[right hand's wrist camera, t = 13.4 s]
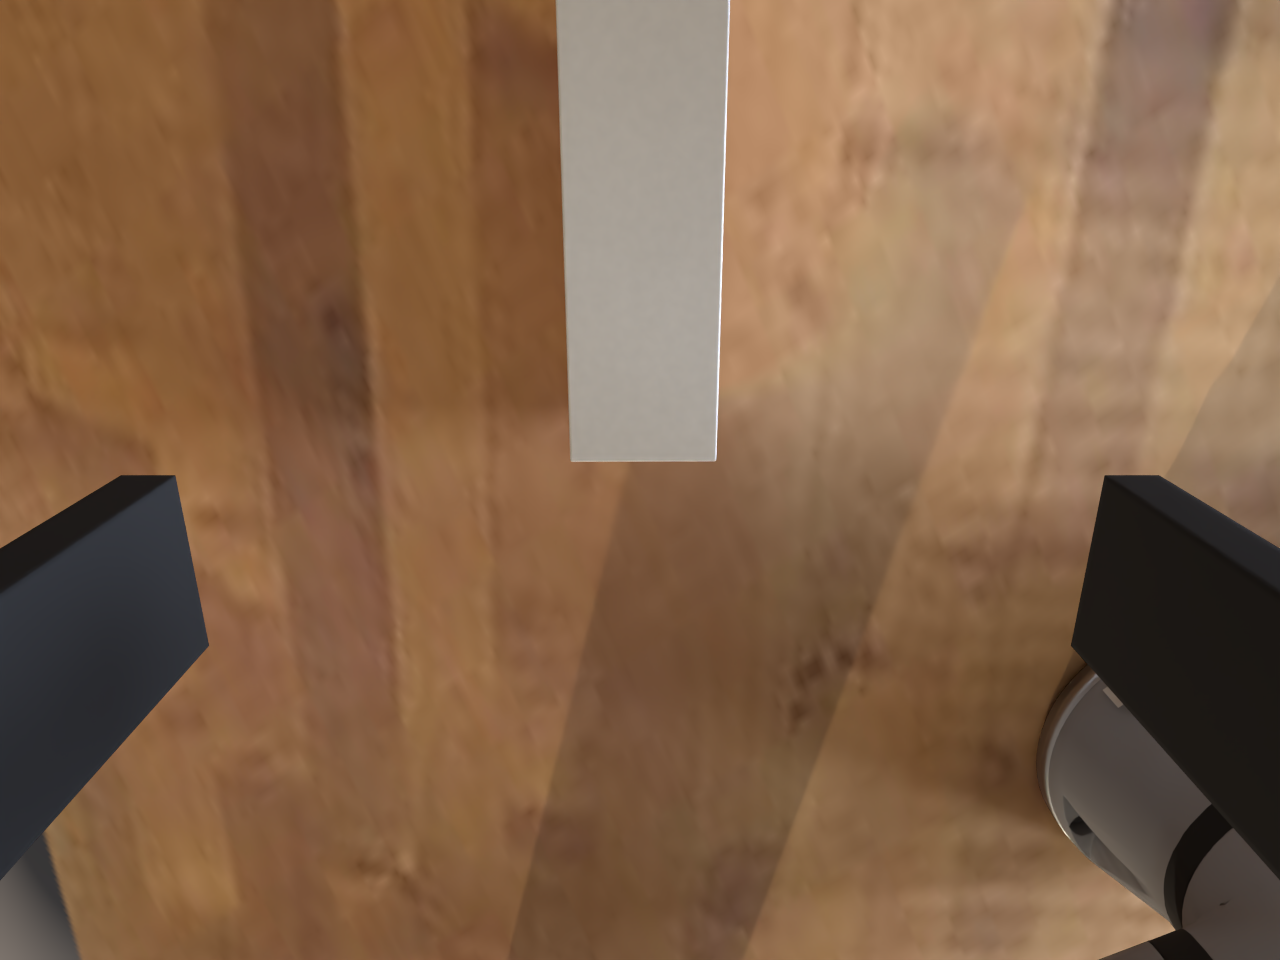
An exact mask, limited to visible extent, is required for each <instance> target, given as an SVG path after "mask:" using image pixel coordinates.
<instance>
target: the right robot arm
mask: <svg viewBox="0 0 1280 960" xmlns="http://www.w3.org/2000/svg"><path fill="white" fill-rule="evenodd" d="M208 646H209V643H208V638H207V633H206V628H205V623H204V618H203V613H202V608H201V603H200V598H199V593H198V588H197V583H196V578H195V573H194V568H193V562H192V557H191V552H190V547H189V542H188V537H187V532H186V527H185V522H184V517H183V512H182V507H181V502H180V497H179V492H178V487H177V482H176V477H175V475H121V476H119V477H118V478H116V479H114V480H113V481H111V482H109V483H108V484H106V485H104V486H103V487H101V488H99V489H98V490H96V491H94V492H93V493H91V494H90V495H88V496H86V497H85V498H83V499H81V500H80V501H78V502H76V503H75V504H73V505H71V506H70V507H68V508H66V509H65V510H63V511H61V512H60V513H58V514H57V515H55V516H53V517H52V518H50V519H48V520H47V521H45V522H43V523H42V524H40V525H38V526H37V527H35V528H33V529H32V530H30V531H28V532H27V533H25V534H24V535H22V536H20V537H19V538H17V539H15V540H14V541H12V542H10V543H9V544H7V545H5V546H4V547H2V548H0V880H1V879H2V878H3V877H4V876H5V874H6V873H7V872H8V871H9V870H10V869H11V868H12V867H13V865H14V864H15V863H16V862H17V861H18V860H19V859H20V858H21V856H22V855H23V854H24V853H25V852H26V851H27V850H28V849H29V847H30V846H31V845H32V844H33V843H34V842H35V841H36V840H37V838H38V837H39V836H40V835H41V834H42V833H43V832H44V831H45V829H46V828H47V827H48V826H49V825H50V824H51V823H52V822H53V820H54V819H55V818H56V817H57V816H58V815H59V814H60V813H61V811H62V810H63V809H64V808H65V807H66V806H67V805H68V804H69V802H70V801H71V800H72V799H73V798H74V797H75V796H76V795H77V793H78V792H79V791H80V790H81V789H82V788H83V787H84V786H85V784H86V783H87V782H88V781H89V780H90V779H91V778H92V777H93V775H94V774H95V773H96V772H97V771H98V770H99V769H100V768H101V766H102V765H103V764H104V763H105V762H106V761H107V760H108V759H109V757H110V756H111V755H112V754H113V753H114V752H115V751H116V750H117V748H118V747H119V746H120V745H121V744H122V743H123V742H124V741H125V739H126V738H127V737H128V736H129V735H130V734H131V733H132V732H133V730H134V729H135V728H136V727H137V726H138V725H139V724H140V723H141V721H142V720H143V719H144V718H145V717H146V716H147V715H148V714H149V712H150V711H151V710H152V709H153V708H154V707H155V706H156V705H157V704H158V702H159V701H160V700H161V699H162V698H163V697H164V696H165V695H166V693H167V692H168V691H169V690H170V689H171V688H172V687H173V686H174V684H175V683H176V682H177V681H178V680H179V679H180V678H181V677H182V675H183V674H184V673H185V672H186V671H187V670H188V669H189V668H190V666H191V665H192V664H193V663H194V662H195V661H196V660H197V659H198V657H199V656H200V655H201V654H202V653H203V652H204V651H205V650H206V648H207V647H208ZM1071 646H1072V647H1073V648H1074V650H1075V651H1076V652H1077V653H1078V654H1079V655H1080V656H1081V657H1082V659H1083V660H1084V661H1085V662H1086V663H1087V665H1086V666H1085V667H1084V668H1083V669H1082V670H1081V671H1080V672H1079V673H1078V674H1077V675H1076V676H1075V677H1074V678H1073V679H1072V680H1071V681H1070V682H1069V684H1068V685H1067V686H1066V687H1065V689H1064V690H1063V691H1062V693H1061V694H1060V695H1059V697H1058V699H1057V700H1056V702H1055V703H1054V705H1053V706H1052V708H1051V710H1050V712H1049V714H1048V716H1047V718H1046V721H1045V723H1044V726H1043V728H1042V732H1041V735H1040V739H1039V743H1038V749H1037V763H1036V766H1037V777H1038V782H1039V787H1040V790H1041V793H1042V796H1043V798H1044V800H1045V802H1046V804H1047V806H1048V808H1049V810H1050V811H1051V813H1052V814H1053V816H1054V818H1055V819H1056V821H1057V822H1058V824H1059V825H1060V827H1061V828H1062V830H1063V831H1064V833H1065V834H1066V835H1067V837H1068V838H1069V839H1070V840H1071V841H1072V842H1073V843H1074V844H1075V846H1076V847H1077V848H1078V849H1079V850H1080V851H1081V852H1082V853H1083V854H1084V855H1085V856H1086V857H1087V858H1088V859H1089V860H1091V861H1092V862H1093V863H1094V864H1096V865H1097V866H1098V867H1099V868H1101V869H1102V870H1103V871H1105V872H1106V873H1107V874H1108V875H1110V876H1111V877H1112V878H1114V879H1115V880H1116V881H1118V882H1119V883H1120V884H1121V885H1123V886H1124V887H1125V888H1127V889H1128V890H1129V891H1131V892H1132V893H1133V894H1134V895H1136V896H1137V897H1138V898H1140V899H1141V900H1142V901H1143V902H1145V903H1146V904H1147V905H1149V906H1150V907H1151V908H1153V909H1154V910H1155V911H1156V912H1158V913H1159V914H1160V915H1162V916H1163V917H1164V918H1165V919H1167V920H1168V921H1169V922H1170V923H1171V924H1172V926H1173V927H1174V929H1175V930H1176V931H1173V932H1171V933H1168V934H1166V935H1163V936H1161V937H1158V938H1155V939H1153V940H1149V941H1147V942H1144V943H1141V944H1139V945H1136V946H1133V947H1131V948H1128V949H1125V950H1123V951H1120V952H1118V953H1115V954H1112V955H1110V956H1107V957H1104V958H1102V959H1099V960H1280V548H1278V547H1276V546H1275V545H1273V544H1271V543H1270V542H1268V541H1266V540H1265V539H1263V538H1261V537H1260V536H1258V535H1256V534H1255V533H1253V532H1252V531H1250V530H1248V529H1247V528H1245V527H1243V526H1242V525H1240V524H1238V523H1237V522H1235V521H1233V520H1232V519H1230V518H1228V517H1227V516H1225V515H1223V514H1222V513H1220V512H1219V511H1217V510H1215V509H1214V508H1212V507H1210V506H1209V505H1207V504H1205V503H1204V502H1202V501H1200V500H1199V499H1197V498H1195V497H1194V496H1192V495H1190V494H1189V493H1187V492H1186V491H1184V490H1182V489H1181V488H1179V487H1177V486H1176V485H1174V484H1172V483H1171V482H1169V481H1167V480H1166V479H1164V478H1162V477H1161V476H1159V475H1105V477H1104V482H1103V487H1102V492H1101V497H1100V502H1099V507H1098V512H1097V517H1096V522H1095V527H1094V532H1093V537H1092V542H1091V547H1090V552H1089V557H1088V562H1087V568H1086V573H1085V578H1084V583H1083V588H1082V593H1081V598H1080V603H1079V608H1078V613H1077V618H1076V623H1075V628H1074V633H1073V638H1072V643H1071Z"/></svg>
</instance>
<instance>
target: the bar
mask: <svg viewBox="0 0 1280 960" xmlns="http://www.w3.org/2000/svg"><path fill="white" fill-rule="evenodd" d="M729 16H730V0H556V26H557V57H558V88H559V120H560V151H561V182H562V214H563V245H564V276H565V308H566V339H567V370H568V402H569V433H570V460H571V461H572V462H657V461H716V454H717V420H718V386H719V352H720V319H721V285H722V251H723V218H724V184H725V150H726V117H727V83H728V49H729Z"/></svg>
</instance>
